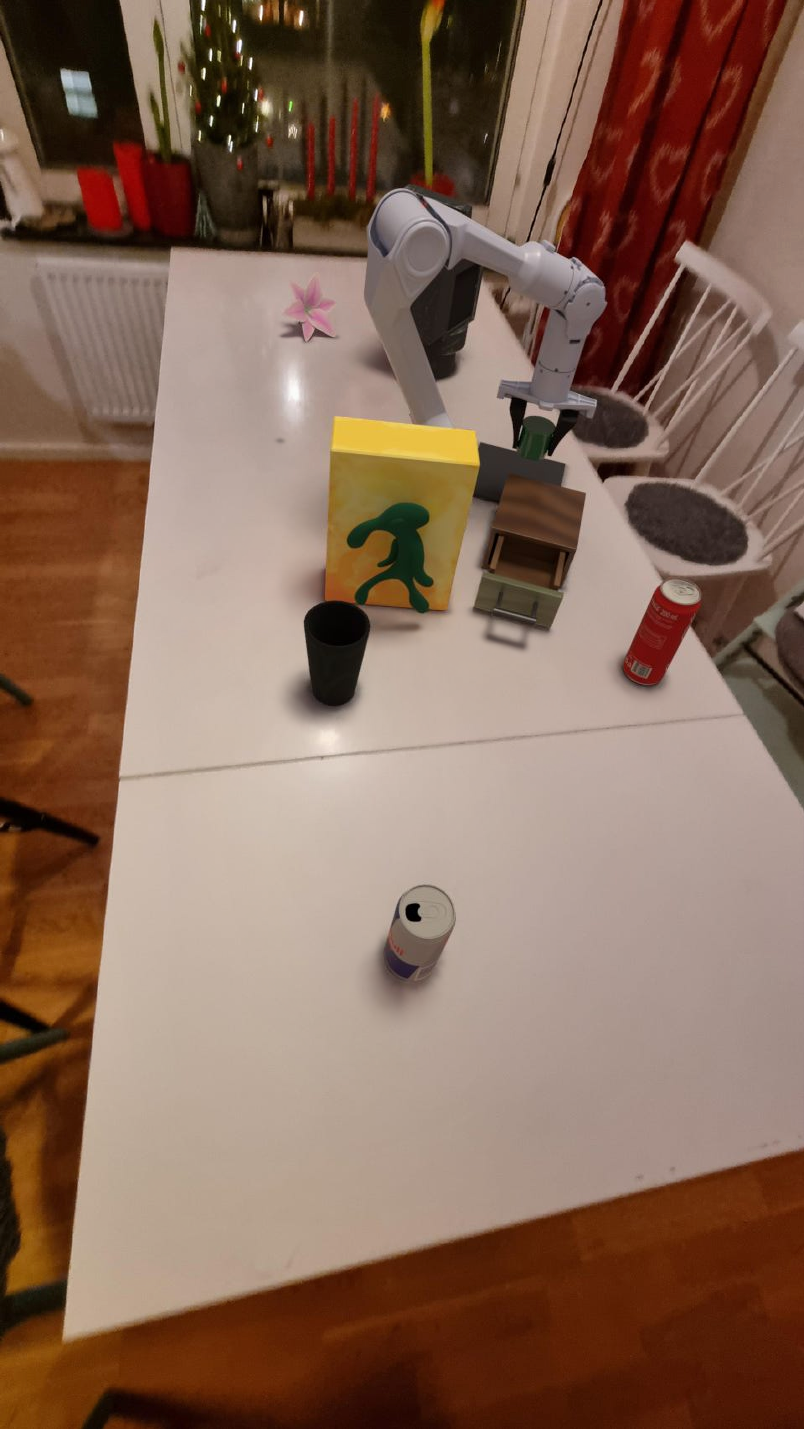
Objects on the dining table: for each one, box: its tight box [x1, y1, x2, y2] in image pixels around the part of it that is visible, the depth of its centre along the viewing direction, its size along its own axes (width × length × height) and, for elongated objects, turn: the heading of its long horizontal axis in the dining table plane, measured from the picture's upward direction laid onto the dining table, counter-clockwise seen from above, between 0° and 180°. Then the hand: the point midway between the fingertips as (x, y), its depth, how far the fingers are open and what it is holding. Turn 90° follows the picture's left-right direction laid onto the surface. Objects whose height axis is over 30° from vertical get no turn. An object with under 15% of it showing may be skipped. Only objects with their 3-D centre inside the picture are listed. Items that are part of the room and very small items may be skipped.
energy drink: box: [383, 883, 457, 983], centre depth 65 cm, size 5×5×12 cm
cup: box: [303, 600, 372, 707], centre depth 84 cm, size 8×8×12 cm
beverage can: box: [622, 576, 702, 686], centre depth 91 cm, size 6×6×15 cm
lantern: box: [402, 183, 485, 380], centre depth 131 cm, size 15×18×30 cm
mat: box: [473, 441, 567, 504], centre depth 122 cm, size 16×16×1 cm
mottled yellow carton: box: [324, 415, 480, 614], centre depth 90 cm, size 18×12×24 cm
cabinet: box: [481, 473, 587, 589], centre depth 108 cm, size 15×13×8 cm
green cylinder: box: [515, 415, 556, 461], centre depth 108 cm, size 5×5×5 cm
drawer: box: [473, 534, 566, 628], centre depth 100 cm, size 18×11×6 cm, turn 165°
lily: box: [282, 271, 337, 342], centre depth 144 cm, size 12×12×10 cm
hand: (531, 449), depth 109 cm, fingers closed on green cylinder, 5 cm apart
